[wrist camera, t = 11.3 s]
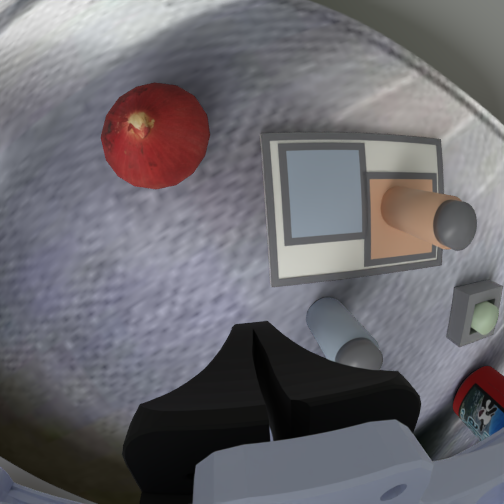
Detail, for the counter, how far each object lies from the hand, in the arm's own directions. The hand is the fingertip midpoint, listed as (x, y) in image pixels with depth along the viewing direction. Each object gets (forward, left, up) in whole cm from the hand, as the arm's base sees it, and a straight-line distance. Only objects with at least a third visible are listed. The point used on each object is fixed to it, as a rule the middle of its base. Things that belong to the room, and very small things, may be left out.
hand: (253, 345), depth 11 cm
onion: (+9, +4, -10) cm, 14 cm away
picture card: (+4, -9, -10) cm, 14 cm away
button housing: (-6, -21, -10) cm, 24 cm away
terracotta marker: (+4, -12, -9) cm, 15 cm away
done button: (-6, -21, -11) cm, 24 cm away
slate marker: (-4, -6, -10) cm, 12 cm away
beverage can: (-17, -25, -10) cm, 32 cm away
